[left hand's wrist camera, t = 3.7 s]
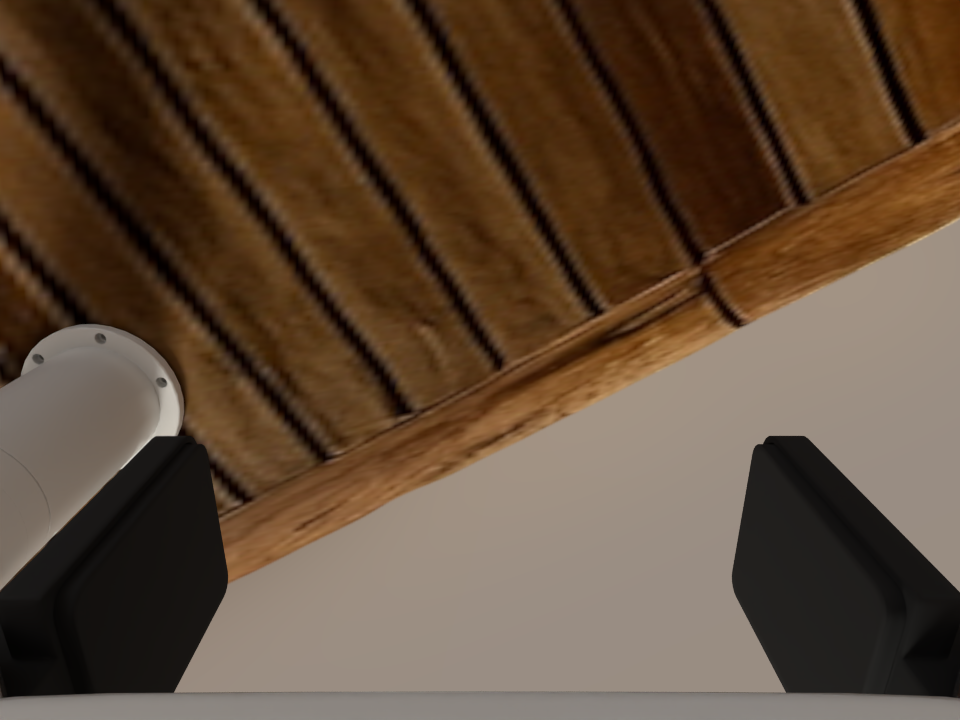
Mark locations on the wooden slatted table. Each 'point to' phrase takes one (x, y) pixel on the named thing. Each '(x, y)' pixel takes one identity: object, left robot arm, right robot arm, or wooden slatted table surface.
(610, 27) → the wooden slatted table surface
